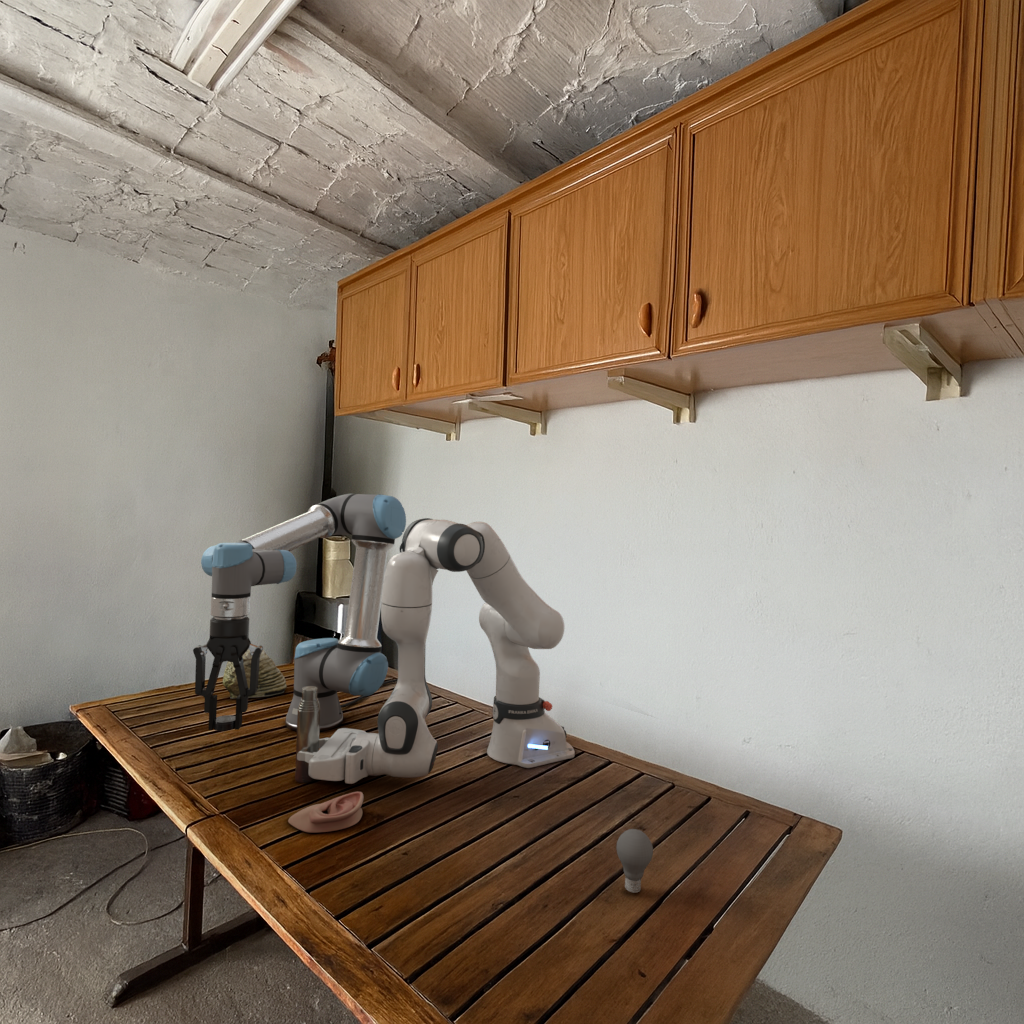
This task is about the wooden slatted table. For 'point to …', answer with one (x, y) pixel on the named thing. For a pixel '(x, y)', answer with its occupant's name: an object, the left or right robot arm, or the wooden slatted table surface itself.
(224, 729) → the cap
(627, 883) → the light bulb
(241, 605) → the left robot arm
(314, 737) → the bottle
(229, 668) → the fossil
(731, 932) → the wooden slatted table surface
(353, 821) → the anatomical model
